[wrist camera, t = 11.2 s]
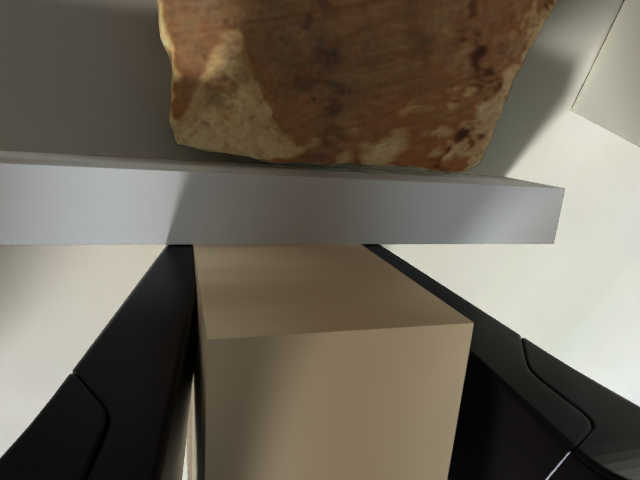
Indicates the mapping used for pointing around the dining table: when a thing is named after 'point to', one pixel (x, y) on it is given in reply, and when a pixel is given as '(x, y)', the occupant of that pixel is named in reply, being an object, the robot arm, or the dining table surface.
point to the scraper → (295, 298)
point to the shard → (345, 77)
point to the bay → (616, 79)
